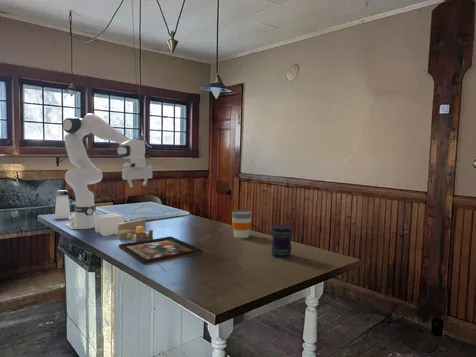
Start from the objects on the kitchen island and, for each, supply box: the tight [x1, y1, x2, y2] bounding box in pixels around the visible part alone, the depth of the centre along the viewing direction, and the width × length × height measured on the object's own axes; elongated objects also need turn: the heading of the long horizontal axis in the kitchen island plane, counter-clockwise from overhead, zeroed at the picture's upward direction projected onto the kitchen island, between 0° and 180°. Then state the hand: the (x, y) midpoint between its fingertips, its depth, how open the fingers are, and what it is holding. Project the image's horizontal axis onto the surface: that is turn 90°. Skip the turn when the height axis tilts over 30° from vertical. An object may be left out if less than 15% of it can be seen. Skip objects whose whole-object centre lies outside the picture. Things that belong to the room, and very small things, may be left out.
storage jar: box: [271, 224, 293, 259], centre depth 182 cm, size 10×10×15 cm
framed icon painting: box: [118, 236, 203, 265], centre depth 188 cm, size 38×35×3 cm
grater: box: [54, 189, 72, 220], centre depth 265 cm, size 10×10×20 cm
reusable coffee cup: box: [231, 209, 253, 239], centre depth 219 cm, size 13×13×15 cm
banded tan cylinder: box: [136, 226, 144, 237], centre depth 210 cm, size 4×4×7 cm
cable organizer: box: [94, 213, 125, 237], centre depth 220 cm, size 15×11×12 cm
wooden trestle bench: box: [117, 218, 154, 242], centre depth 210 cm, size 14×18×9 cm
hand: (138, 186), depth 221 cm, fingers open, 8 cm apart
